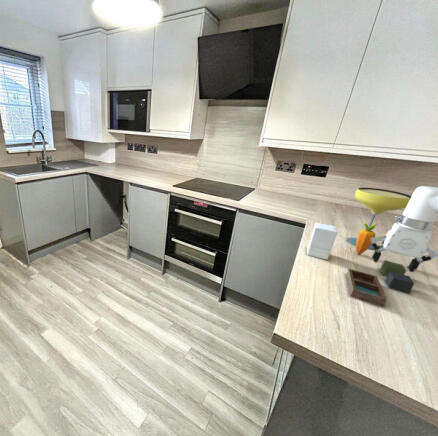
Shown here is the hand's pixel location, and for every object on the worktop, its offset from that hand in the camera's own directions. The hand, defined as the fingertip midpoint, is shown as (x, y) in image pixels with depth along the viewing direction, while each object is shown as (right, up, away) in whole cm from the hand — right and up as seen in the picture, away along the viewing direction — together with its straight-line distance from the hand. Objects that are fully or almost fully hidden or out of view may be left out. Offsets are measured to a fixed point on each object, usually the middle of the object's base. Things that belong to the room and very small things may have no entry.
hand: (392, 265), depth 87 cm
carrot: (0, +2, +14) cm, 15 cm away
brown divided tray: (-18, -6, -8) cm, 21 cm away
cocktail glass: (+11, +5, +25) cm, 28 cm away
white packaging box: (-18, +2, +14) cm, 23 cm away
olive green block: (0, -4, +1) cm, 4 cm away
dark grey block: (-5, -6, -6) cm, 10 cm away
